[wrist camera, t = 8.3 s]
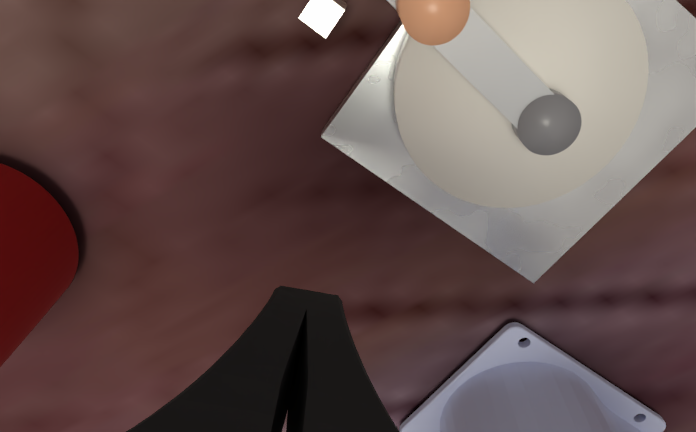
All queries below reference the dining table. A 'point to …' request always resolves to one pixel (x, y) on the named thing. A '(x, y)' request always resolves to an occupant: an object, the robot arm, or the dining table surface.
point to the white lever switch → (517, 93)
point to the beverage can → (30, 256)
